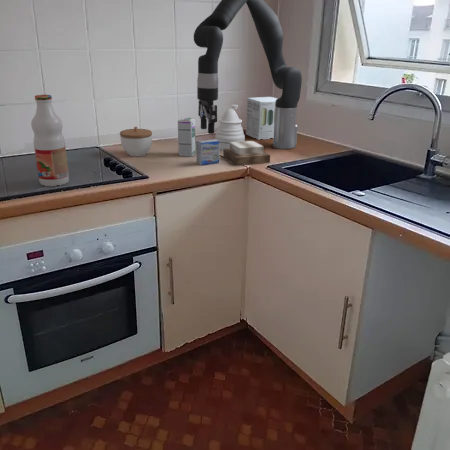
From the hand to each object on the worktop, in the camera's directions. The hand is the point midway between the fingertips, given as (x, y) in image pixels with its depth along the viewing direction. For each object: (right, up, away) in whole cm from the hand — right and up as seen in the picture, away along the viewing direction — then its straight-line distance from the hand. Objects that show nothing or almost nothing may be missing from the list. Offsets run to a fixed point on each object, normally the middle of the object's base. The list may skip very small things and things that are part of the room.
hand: (207, 131), depth 174 cm
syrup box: (-9, -7, +15) cm, 19 cm away
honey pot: (+9, -2, +28) cm, 29 cm away
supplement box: (+25, +7, +49) cm, 56 cm away
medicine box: (0, -11, +5) cm, 12 cm away
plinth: (+15, -9, +10) cm, 20 cm away
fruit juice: (-50, -21, -20) cm, 58 cm away
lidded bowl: (-29, -7, +15) cm, 33 cm away
